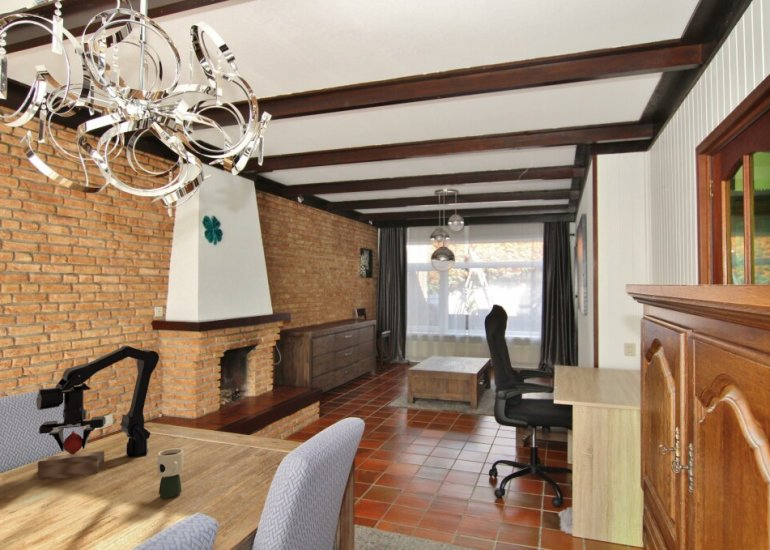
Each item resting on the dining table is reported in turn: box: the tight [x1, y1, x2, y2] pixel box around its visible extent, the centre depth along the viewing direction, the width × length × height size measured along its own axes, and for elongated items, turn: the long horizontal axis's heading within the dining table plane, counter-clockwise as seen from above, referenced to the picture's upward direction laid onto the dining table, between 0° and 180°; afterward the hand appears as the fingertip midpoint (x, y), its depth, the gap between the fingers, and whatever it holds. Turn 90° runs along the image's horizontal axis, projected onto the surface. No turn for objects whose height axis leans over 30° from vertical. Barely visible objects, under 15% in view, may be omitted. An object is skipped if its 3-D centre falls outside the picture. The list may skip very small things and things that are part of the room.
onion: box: [63, 430, 83, 455], centre depth 163 cm, size 6×6×8 cm
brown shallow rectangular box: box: [37, 450, 105, 481], centre depth 162 cm, size 17×12×6 cm
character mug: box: [156, 447, 184, 499], centre depth 142 cm, size 11×7×13 cm, turn 41°
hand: (73, 449), depth 163 cm, fingers closed on onion, 6 cm apart
